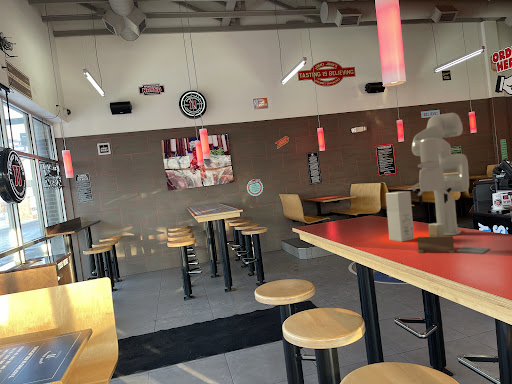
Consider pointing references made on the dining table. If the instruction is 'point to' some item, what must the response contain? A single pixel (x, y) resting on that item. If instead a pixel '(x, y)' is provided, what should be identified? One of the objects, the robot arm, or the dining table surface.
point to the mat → (473, 250)
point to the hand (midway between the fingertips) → (433, 203)
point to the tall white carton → (399, 216)
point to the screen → (435, 244)
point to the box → (436, 230)
